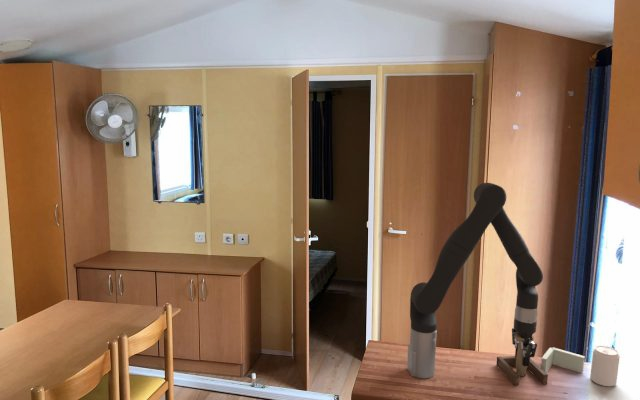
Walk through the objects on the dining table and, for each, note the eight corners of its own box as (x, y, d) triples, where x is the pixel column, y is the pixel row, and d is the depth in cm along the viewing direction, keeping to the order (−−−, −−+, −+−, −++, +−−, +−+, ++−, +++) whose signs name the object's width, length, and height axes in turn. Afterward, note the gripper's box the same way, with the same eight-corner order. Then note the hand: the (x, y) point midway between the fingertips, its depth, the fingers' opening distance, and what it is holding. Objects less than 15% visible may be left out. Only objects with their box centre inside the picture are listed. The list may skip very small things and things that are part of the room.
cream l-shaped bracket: (542, 374, 177) (543, 359, 176) (529, 362, 186) (530, 348, 185) (585, 373, 179) (586, 357, 178) (570, 361, 188) (572, 346, 187)
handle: (532, 377, 175) (535, 338, 173) (514, 377, 175) (518, 338, 173) (526, 370, 180) (529, 332, 177) (509, 370, 180) (512, 332, 177)
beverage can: (618, 381, 173) (622, 350, 171) (613, 390, 168) (616, 358, 166) (593, 373, 179) (596, 342, 177) (587, 381, 173) (590, 350, 171)
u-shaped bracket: (514, 385, 170) (515, 375, 169) (496, 365, 184) (497, 356, 183) (547, 383, 171) (547, 374, 171) (526, 364, 185) (527, 355, 184)
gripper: (506, 310, 181) (502, 353, 183) (525, 326, 167) (521, 372, 169) (525, 309, 181) (521, 352, 184) (546, 325, 167) (542, 371, 170)
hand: (521, 361), depth 177 cm, fingers open, 5 cm apart
